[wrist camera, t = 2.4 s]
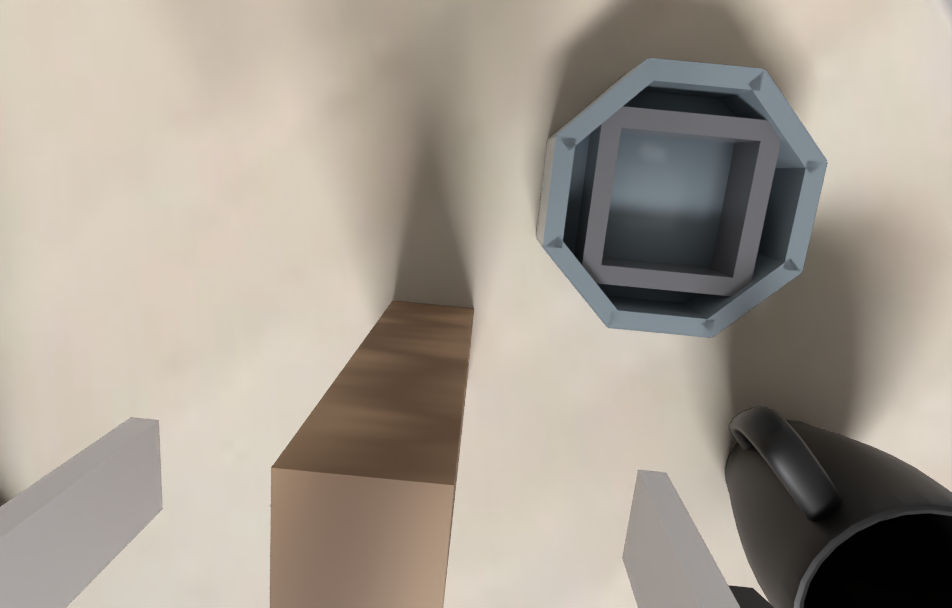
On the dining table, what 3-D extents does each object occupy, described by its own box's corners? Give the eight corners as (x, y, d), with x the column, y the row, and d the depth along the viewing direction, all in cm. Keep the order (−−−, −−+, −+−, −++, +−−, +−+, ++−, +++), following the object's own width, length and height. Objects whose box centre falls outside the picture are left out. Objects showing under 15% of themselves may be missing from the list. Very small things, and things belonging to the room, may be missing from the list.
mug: (768, 304, 28) (907, 373, 18) (889, 483, 30) (1070, 627, 20) (626, 400, 29) (690, 510, 20) (752, 565, 31) (863, 734, 22)
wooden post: (387, 377, 29) (269, 621, 13) (392, 300, 28) (271, 467, 12) (466, 385, 29) (439, 638, 13) (473, 308, 28) (454, 485, 12)
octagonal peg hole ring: (528, 301, 28) (533, 320, 24) (556, 65, 25) (566, 49, 22) (749, 323, 28) (785, 345, 24) (799, 88, 25) (847, 76, 22)
